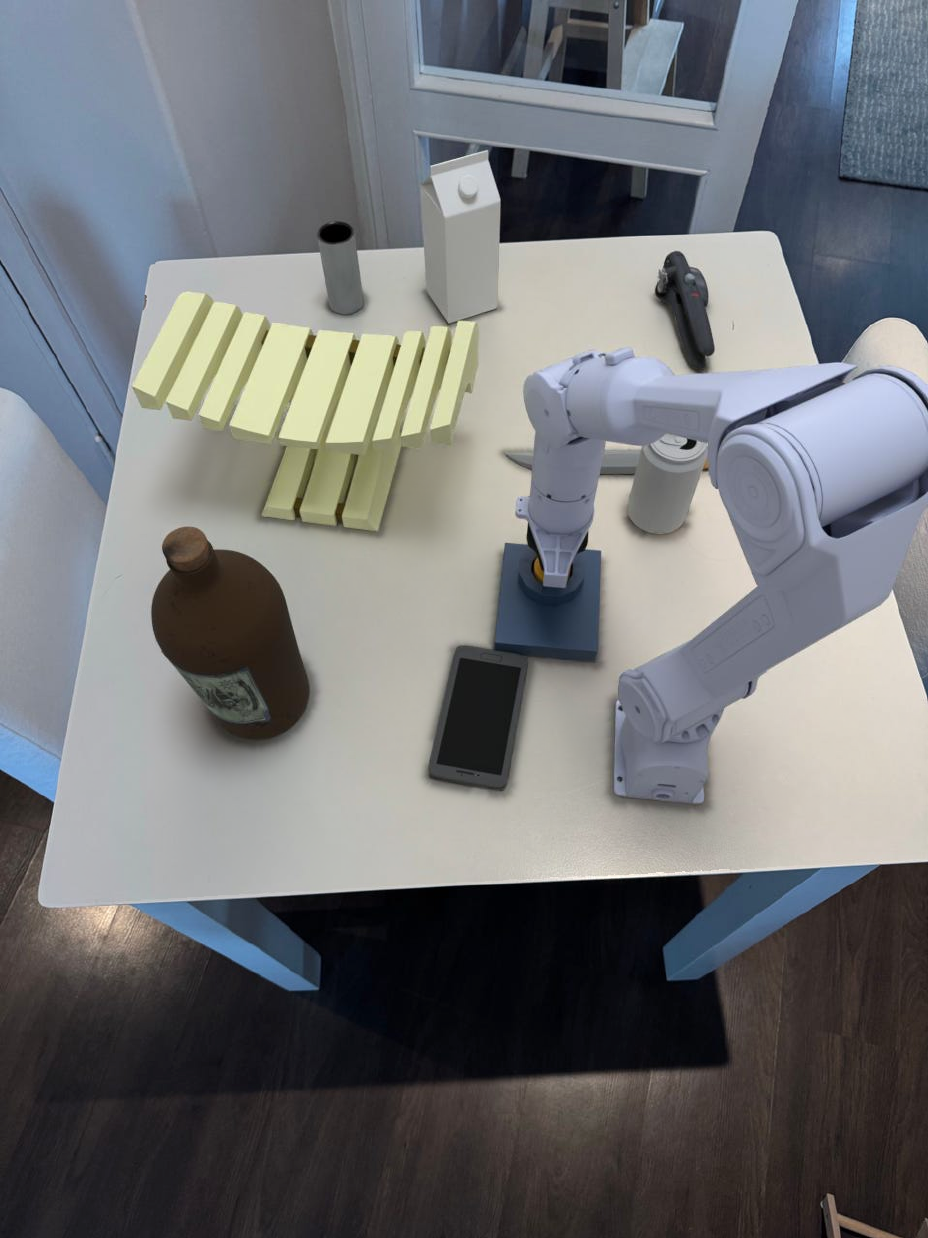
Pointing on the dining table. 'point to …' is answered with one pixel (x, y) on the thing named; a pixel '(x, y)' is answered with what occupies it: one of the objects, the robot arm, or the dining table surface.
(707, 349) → the can opener
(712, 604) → the dining table surface
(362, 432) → the slatted curved stool
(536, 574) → the trigger button
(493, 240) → the milk carton
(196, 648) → the brown bottle
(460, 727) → the cell phone
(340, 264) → the gray cylinder
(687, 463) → the beverage can
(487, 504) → the dining table surface
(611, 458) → the knife
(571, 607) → the button housing
